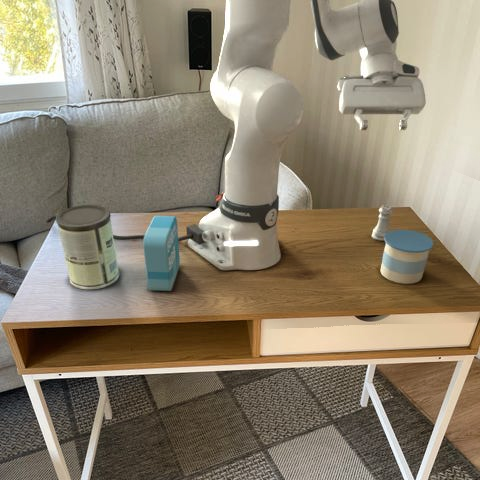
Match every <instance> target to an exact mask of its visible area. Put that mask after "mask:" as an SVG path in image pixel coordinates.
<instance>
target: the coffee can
mask: <svg viewBox="0 0 480 480" xmlns="http://www.w3.org/2000/svg"><path fill="white" fill-rule="evenodd" d="M56 215H57V216H56V219H55V222H56V224H57V228H58V232H59V237H60V243H61V247H62V251H63V254H64V255H63V256H64V258H65V259H64V260H65V264H66V267H67V272H68V273H67V274H68V277H69V283H70V284H71V286H73V287H75V288H76V289H80V290H91V291H92V290H99V289H103V288H107V287H109V286H111V285H113V284H114V283H116V281H118V279H119V277H120V271H119V266H118V260H117V254H116V246H115V239H113V235H114V232H113V227H112V221H111V211H110V210H109V209H108V208H107V207H104V206H101V205H97V204H80V205H74V206H71V207H68V208H65V209H63V210H61V211H59V212H58V213H57V214H56Z"/></svg>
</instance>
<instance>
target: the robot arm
mask: <svg viewBox="0 0 480 480" xmlns="http://www.w3.org/2000/svg"><path fill="white" fill-rule="evenodd" d="M291 2H292V0H225V23H224V32H223V40H222V45H221V50H220V55H219V60H218V64H217V68H216V70H215V72H214V73H213V75H212V77H211V81H210V95H211V98H212V100H213V102H214V104H215V106H216V108H218V110H219V112H220V113H221V114H222V115H223V116H224V117H226V118H227V119H229V120H231V121H232V122H233V123H234V135H233V140H232V146H231V150H230V151H229V152H228V153H227V155H226V156H225V159H224V191H223V192H222V193H221V194H218V195H216V196H215V198H216V199H215V202H218V201H220V203H219V206H218V207H217V208H216V209H214V210H213V211H211V212H209V213H208V214H206V215H205V216H203V218H201V220H200V221H199V223H198V225H197V224H195V223H193V224H190V225H186V227H185V229H186V235H183V236H180V237H179V236H178V243H179V242H182V241H186V240H188V241H187V246H188V247H189V248H190V249H191V250H193V251H194V252H195V253H197V254H198V255H199V256H200V257H202V258H204V259H205V260H206V261H208V262H209V263H211V264H212V265H213V266H214V267H216V268H217V269H218V270H220V271H233V270H240V271H257V270H265V269H267V268H270V267H272V266H274V265H276V264H278V263H279V261H280V260H281V258H282V253H281V249H280V244H279V237H278V224H277V223H278V222H277V221H278V216H279V208H280V196H279V194H278V187H279V185H278V184H279V175H280V163H281V158H282V154H283V152H284V151H283V150H284V148H285V144H286V142H287V139H288V137H289V135H291V134H293V132H294V131H295V130H296V129H297V127H298V126H299V124H300V122H301V119H302V117H303V113H304V100H303V97H302V94H301V91H299V90H298V88H297V87H296V86H295V85H294V84H293V83H292V82H291V81H290V80H289V78H287V77H286V76H284V75H283V74H281V73H279V72H277V71H273V69H274V68H273V67H274V61H275V57H276V54H277V50H278V47H279V44H280V43H281V40H282V39H283V37H285V35H286V34H287V32H288V30H289V26H290V14H291V4H292V3H291ZM309 2H310V7H311V13H312V18H313V25H314V42H315V46H316V49H317V51H318V53H319V55H320V56H322V57H323V58H325V59H327V60H330V61H335V60H337V59H340V58H342V57H345V56H347V55H348V54H352V53H354V52H355V53H356V52H358V51H359V56H360V58H361V62H360V75H343V77H340V78H339V79H338V81H337V90H338V92H339V93H340V94H339V101H338V103H339V104H338V110H339V112H340V113H341V114H342V115H354V117H353V118H354V119H355V121H356V122H357V124H358V125H359V131H367V130H368V127H369V124H368V123H369V121H368V119H365V118H364V117H363V115H401V117H402V119H400V121H399V122H398V131H406V130H407V128H408V119H409V118H410V116H411V115H419V114H420V113H421V112H422V111H423V110H424V108H425V106H426V103H427V102H426V101H427V99H426V91H425V86H424V84H423V81H422V80H421V79H420V78H419V75H420V73H421V72H420V68H419V67H418V66H416V65H412V64H409V63H406V62H404V61H402V60H399V58H398V56H397V52H396V51H397V46H398V43H397V42H398V41H397V39H398V36H399V34H400V32H399V19H398V17H399V16H398V10H397V7H396V4H395V2H394V1H393V0H359V1H358V2H355V3H352V4H350V5H347V6H346V5H345V6H344V7H341V8H337V9H333V8H331V2H330V0H309ZM56 216H57V214H55V215H52V216H50V217H48V218H47V220H46V221H45V222H46V223H47V224H48V223H51V222H52V221H54V220H56ZM144 236H145V234H137V235H135V234H134V235H116V234H113V239H114V240H118V241H119V240H120V241H132V240H144Z"/></svg>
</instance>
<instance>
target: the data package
mask: <svg viewBox="0 0 480 480" xmlns="http://www.w3.org/2000/svg"><path fill="white" fill-rule="evenodd" d="M178 230H179V229H178V219H177V216H172V215H171V216H170V215H169V216H168V215H154V216H153V218H152V220H151V222H150V224H149V226H148V228H147V230H146V232H145V234H144V235H145V236H144V239H142V240H143V242H142V246H143V248H142V249H143V254H144V264H145V273H146V274H145V275H146V281H147V283H146V284H147V288H148V290H149V291H159V292H160V291H161V292H171V291H172V290H173V287H174V284H175V281H176V277H177V274H178V271H179V270H180V269H179V268H180V262H181V261H180V260H181V259H180V245H179V242H178V238H179V232H178Z"/></svg>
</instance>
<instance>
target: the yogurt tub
mask: <svg viewBox="0 0 480 480" xmlns="http://www.w3.org/2000/svg"><path fill="white" fill-rule="evenodd" d="M384 240H385V241H384V243H385V245H384V249H383V254H382V259H381V265H380V273H381V275H382V276H383V277H384V278H385V279H387V280H388V281H391V282H393V283H397V284H402V285H403V284H405V285H410V284H415V283H416V284H417V283H418V282H420V281H421V280H422V279H423V275H424V272H425V268H426V265H427V260H428V257H429V253H430V250H432V249H433V247H434V240H433V239H432V238H431V237H430V236H428V235H427V234H426V233H425V234H424V233H422V232H420V231H415V230H412V229H394V230H390V232H388V233H387V234H386V235H385V238H384Z"/></svg>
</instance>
